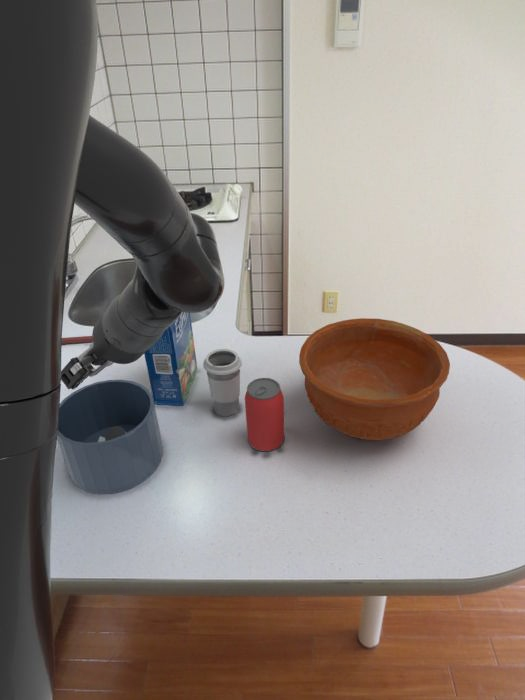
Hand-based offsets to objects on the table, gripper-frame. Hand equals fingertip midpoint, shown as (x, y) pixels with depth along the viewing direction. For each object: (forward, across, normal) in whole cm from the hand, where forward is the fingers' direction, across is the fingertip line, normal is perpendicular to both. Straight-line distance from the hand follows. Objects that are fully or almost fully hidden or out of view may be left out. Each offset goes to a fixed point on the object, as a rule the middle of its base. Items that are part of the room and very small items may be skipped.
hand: (92, 369), depth 81 cm
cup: (+8, -21, +20) cm, 30 cm away
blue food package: (+17, -21, +10) cm, 29 cm away
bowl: (-9, -32, +37) cm, 49 cm away
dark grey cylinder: (+12, 0, +12) cm, 17 cm away
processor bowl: (+14, 0, +14) cm, 20 cm away
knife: (+42, -20, -14) cm, 48 cm away
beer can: (0, -18, +28) cm, 33 cm away
